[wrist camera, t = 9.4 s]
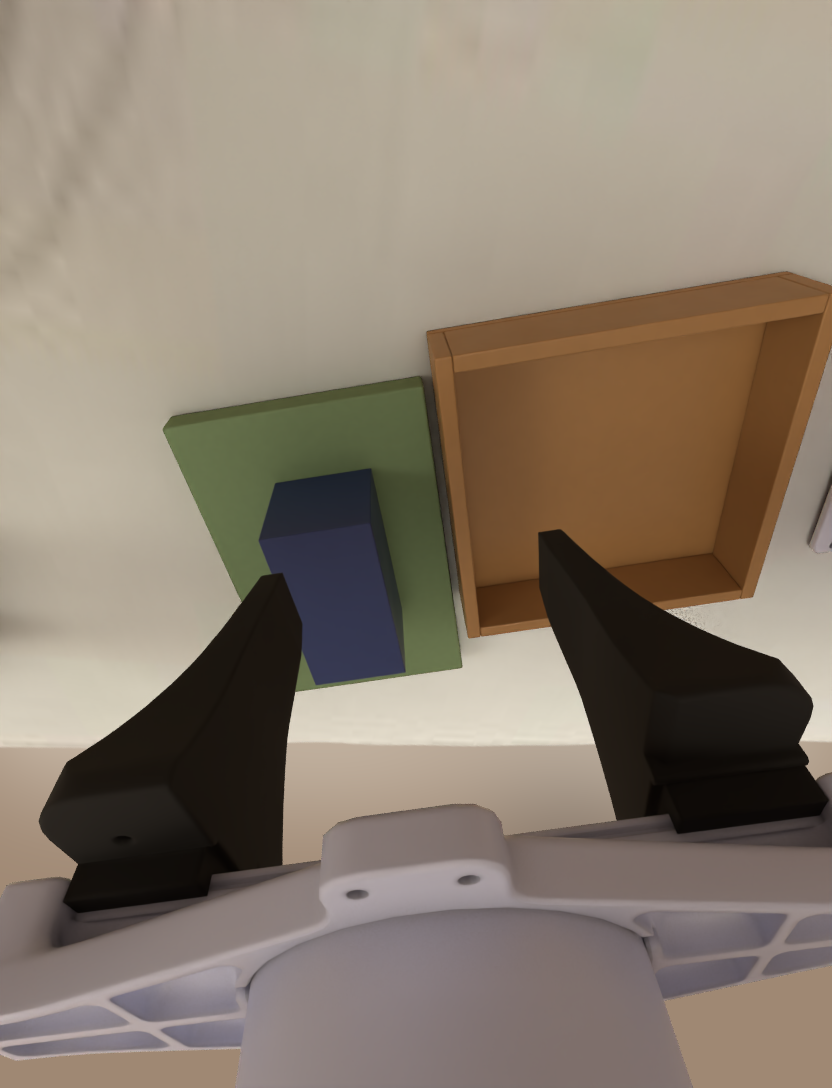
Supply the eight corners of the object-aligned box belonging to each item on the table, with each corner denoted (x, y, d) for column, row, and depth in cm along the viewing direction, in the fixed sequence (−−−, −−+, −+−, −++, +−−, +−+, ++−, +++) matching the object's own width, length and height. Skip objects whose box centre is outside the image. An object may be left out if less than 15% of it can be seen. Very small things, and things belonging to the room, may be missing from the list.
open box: (787, 270, 20) (849, 290, 17) (718, 555, 27) (753, 597, 25) (426, 331, 20) (433, 358, 18) (459, 593, 28) (468, 639, 25)
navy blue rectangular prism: (370, 467, 22) (370, 523, 19) (402, 609, 27) (406, 673, 24) (274, 482, 22) (257, 540, 19) (322, 621, 27) (315, 686, 24)
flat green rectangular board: (421, 374, 21) (423, 386, 20) (460, 651, 31) (462, 668, 30) (170, 415, 21) (160, 428, 20) (286, 676, 31) (283, 694, 30)
